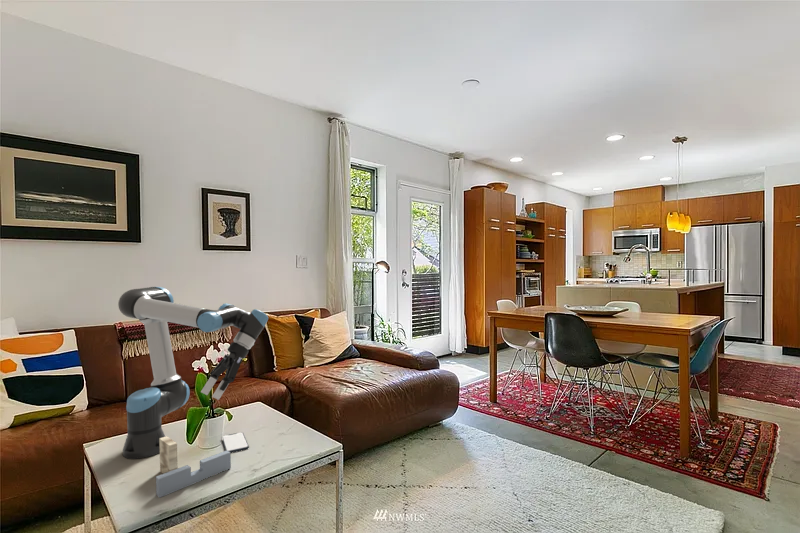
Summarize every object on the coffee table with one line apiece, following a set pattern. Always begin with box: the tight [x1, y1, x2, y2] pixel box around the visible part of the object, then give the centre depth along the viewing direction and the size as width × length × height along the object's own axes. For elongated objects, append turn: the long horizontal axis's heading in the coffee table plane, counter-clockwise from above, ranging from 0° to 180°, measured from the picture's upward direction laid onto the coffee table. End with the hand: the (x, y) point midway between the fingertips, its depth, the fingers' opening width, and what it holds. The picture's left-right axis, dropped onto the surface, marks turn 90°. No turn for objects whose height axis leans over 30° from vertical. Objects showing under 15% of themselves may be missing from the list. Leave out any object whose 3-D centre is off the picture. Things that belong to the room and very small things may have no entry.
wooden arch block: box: [159, 435, 179, 474], centre depth 151 cm, size 9×2×12 cm, turn 49°
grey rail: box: [155, 450, 232, 498], centre depth 146 cm, size 2×24×6 cm, turn 139°
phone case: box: [221, 431, 250, 454], centre depth 175 cm, size 9×2×16 cm
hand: (209, 396), depth 160 cm, fingers open, 13 cm apart
